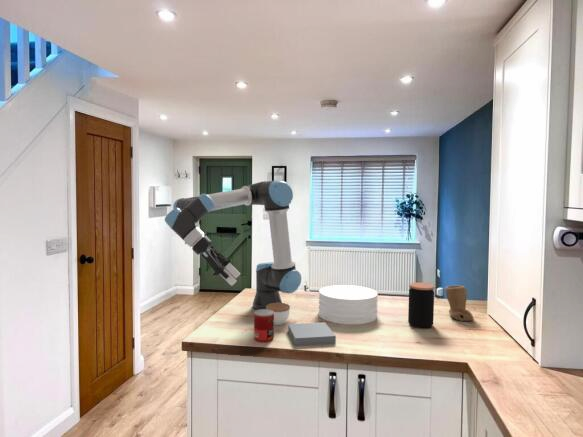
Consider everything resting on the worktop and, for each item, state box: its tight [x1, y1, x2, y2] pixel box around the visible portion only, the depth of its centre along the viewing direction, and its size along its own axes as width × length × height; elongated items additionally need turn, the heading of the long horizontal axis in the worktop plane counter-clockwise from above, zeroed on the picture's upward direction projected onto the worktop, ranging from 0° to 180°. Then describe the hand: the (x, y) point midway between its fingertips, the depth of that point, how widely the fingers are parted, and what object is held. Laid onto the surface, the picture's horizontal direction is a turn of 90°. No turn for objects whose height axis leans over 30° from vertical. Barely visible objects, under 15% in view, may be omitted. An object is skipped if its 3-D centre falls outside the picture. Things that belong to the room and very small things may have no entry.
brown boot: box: [444, 284, 475, 322], centre depth 177 cm, size 15×12×15 cm
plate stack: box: [318, 284, 379, 325], centre depth 179 cm, size 28×28×12 cm
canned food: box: [253, 309, 275, 343], centre depth 147 cm, size 8×8×11 cm
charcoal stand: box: [287, 321, 337, 347], centre depth 150 cm, size 16×16×3 cm
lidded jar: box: [266, 302, 291, 326], centre depth 166 cm, size 11×11×9 cm
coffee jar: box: [407, 282, 435, 329], centre depth 165 cm, size 11×11×18 cm
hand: (236, 279), depth 146 cm, fingers open, 13 cm apart
